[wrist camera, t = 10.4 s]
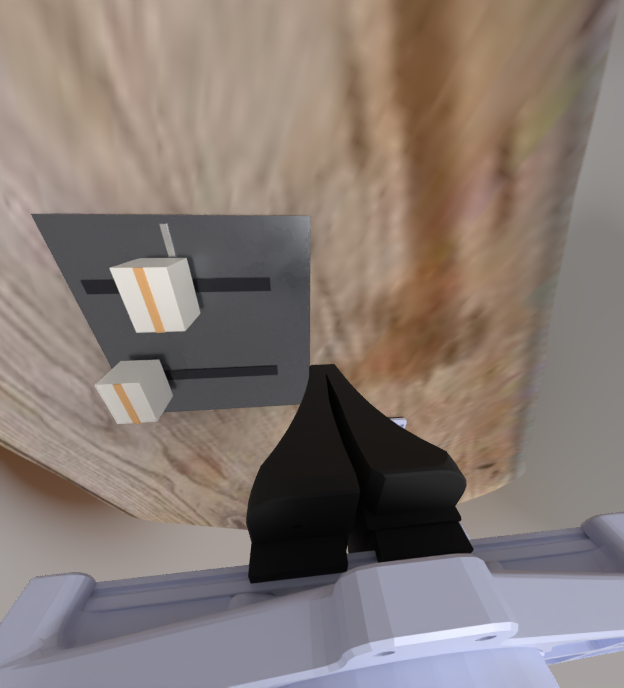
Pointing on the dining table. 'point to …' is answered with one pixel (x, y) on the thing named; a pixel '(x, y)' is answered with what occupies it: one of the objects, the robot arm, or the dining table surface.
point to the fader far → (135, 391)
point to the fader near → (157, 293)
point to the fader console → (201, 300)
